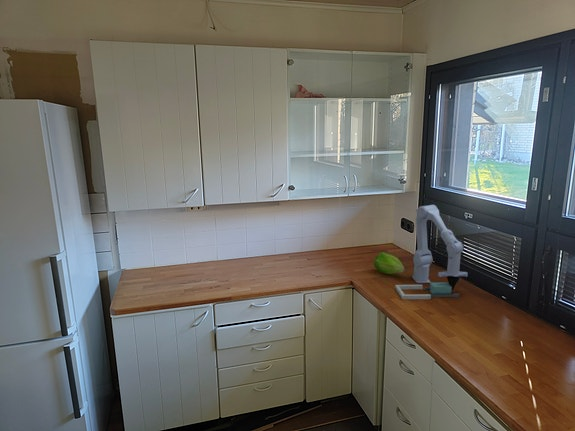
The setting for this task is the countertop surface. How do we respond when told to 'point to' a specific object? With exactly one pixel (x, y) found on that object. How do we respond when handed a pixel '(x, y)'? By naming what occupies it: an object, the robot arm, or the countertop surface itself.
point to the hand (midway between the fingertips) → (451, 289)
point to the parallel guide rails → (442, 293)
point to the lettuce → (388, 264)
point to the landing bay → (415, 296)
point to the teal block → (440, 288)
